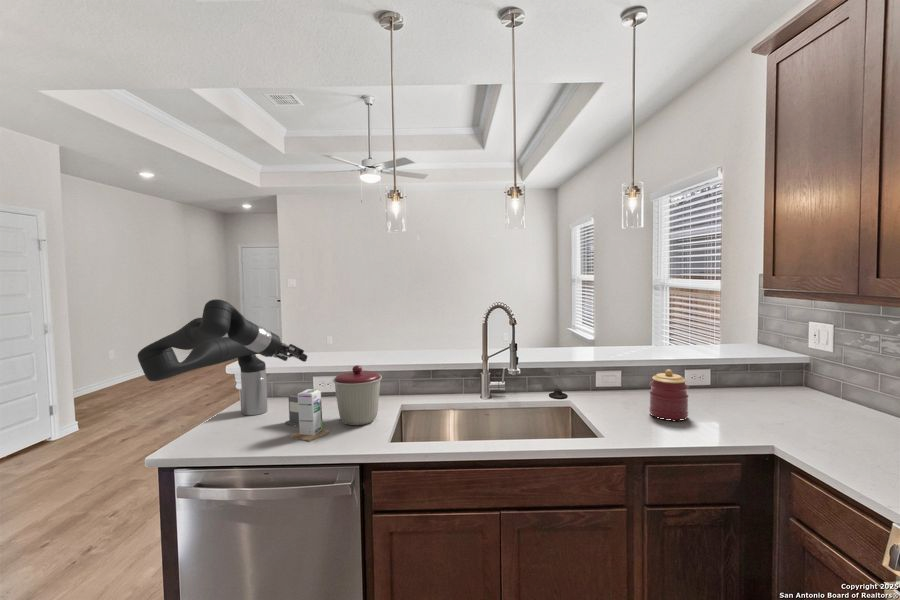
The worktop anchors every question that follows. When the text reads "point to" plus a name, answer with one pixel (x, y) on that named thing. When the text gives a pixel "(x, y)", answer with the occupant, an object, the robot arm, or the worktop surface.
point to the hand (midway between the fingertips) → (296, 358)
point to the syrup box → (310, 412)
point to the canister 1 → (357, 395)
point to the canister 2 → (669, 396)
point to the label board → (293, 411)
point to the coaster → (308, 437)
